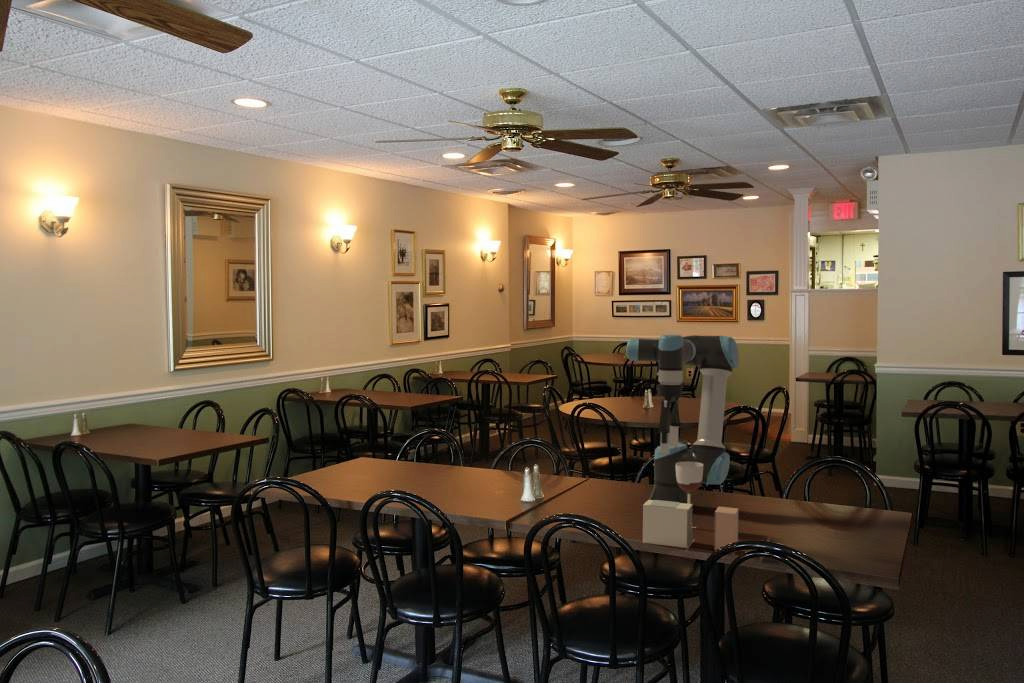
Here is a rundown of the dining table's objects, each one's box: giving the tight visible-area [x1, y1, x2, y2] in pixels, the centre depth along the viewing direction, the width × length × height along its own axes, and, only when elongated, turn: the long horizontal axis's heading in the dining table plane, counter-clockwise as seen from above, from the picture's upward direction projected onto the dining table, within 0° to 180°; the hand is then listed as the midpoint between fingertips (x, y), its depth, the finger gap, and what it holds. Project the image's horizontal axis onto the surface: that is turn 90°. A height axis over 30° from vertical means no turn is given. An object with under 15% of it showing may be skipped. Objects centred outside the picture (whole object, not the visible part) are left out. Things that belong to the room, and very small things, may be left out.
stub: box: [713, 506, 739, 555], centre depth 244 cm, size 7×6×12 cm
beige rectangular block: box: [642, 499, 694, 549], centre depth 251 cm, size 7×14×12 cm, turn 67°
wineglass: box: [676, 462, 703, 529], centre depth 267 cm, size 9×10×22 cm
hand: (669, 449), depth 256 cm, fingers open, 13 cm apart
